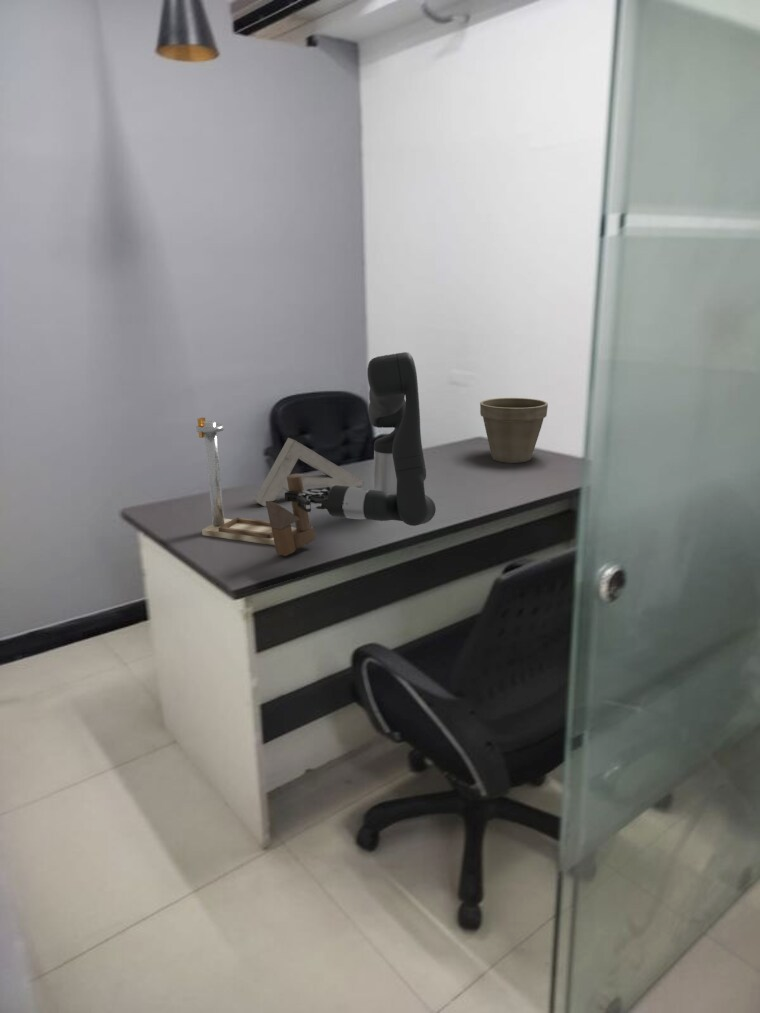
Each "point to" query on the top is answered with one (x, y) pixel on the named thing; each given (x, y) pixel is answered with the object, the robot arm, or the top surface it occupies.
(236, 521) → the seat board
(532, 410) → the plant pot
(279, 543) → the wooden block
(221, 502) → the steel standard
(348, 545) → the top surface
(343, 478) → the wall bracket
